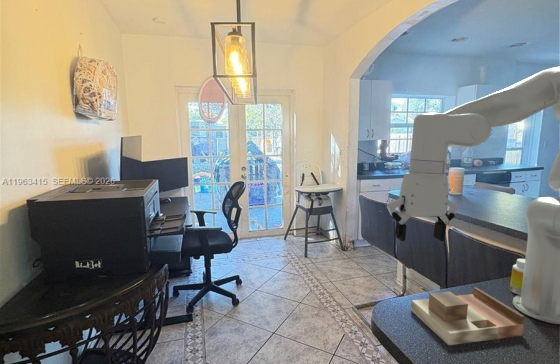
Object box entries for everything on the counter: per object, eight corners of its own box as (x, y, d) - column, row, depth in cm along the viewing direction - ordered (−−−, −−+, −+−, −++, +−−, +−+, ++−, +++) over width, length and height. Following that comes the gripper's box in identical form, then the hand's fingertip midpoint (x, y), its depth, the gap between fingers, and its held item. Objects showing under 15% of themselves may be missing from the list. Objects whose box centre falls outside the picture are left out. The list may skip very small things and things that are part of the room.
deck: (474, 303, 84) (476, 287, 84) (522, 335, 71) (524, 316, 70) (411, 310, 81) (412, 293, 80) (448, 345, 67) (450, 325, 67)
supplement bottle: (529, 299, 87) (533, 266, 85) (506, 291, 91) (510, 260, 90) (535, 294, 90) (540, 262, 88) (513, 286, 94) (517, 256, 93)
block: (448, 305, 78) (450, 291, 77) (466, 319, 72) (468, 304, 72) (428, 307, 77) (429, 293, 76) (444, 321, 71) (446, 306, 71)
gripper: (451, 167, 73) (443, 234, 75) (383, 165, 71) (378, 234, 73) (473, 170, 65) (464, 244, 68) (399, 168, 64) (392, 244, 66)
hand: (419, 239), depth 71 cm, fingers open, 9 cm apart
